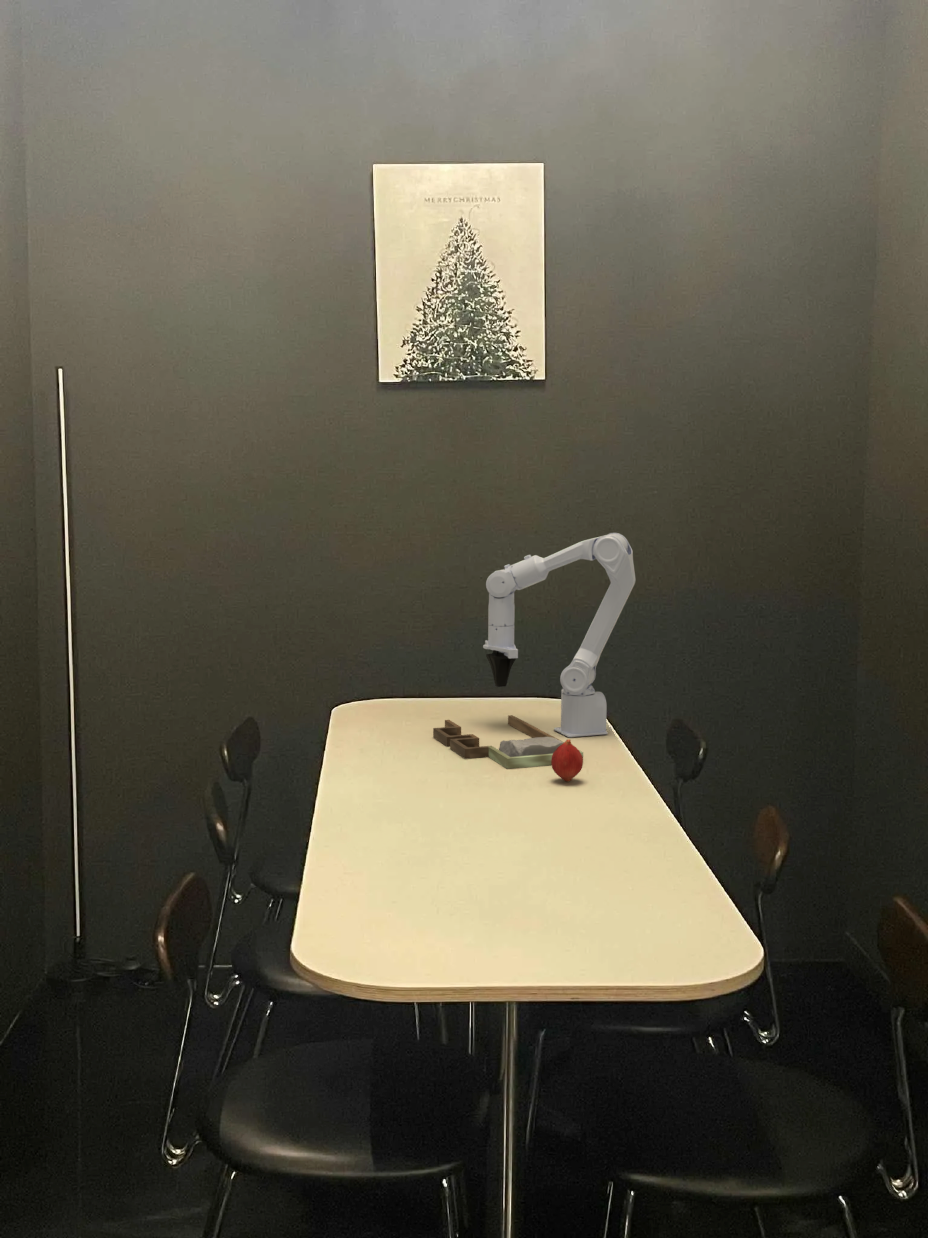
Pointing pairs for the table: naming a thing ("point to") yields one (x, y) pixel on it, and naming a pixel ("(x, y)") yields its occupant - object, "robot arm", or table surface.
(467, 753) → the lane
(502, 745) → the stone block
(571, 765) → the onion
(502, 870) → the table surface
